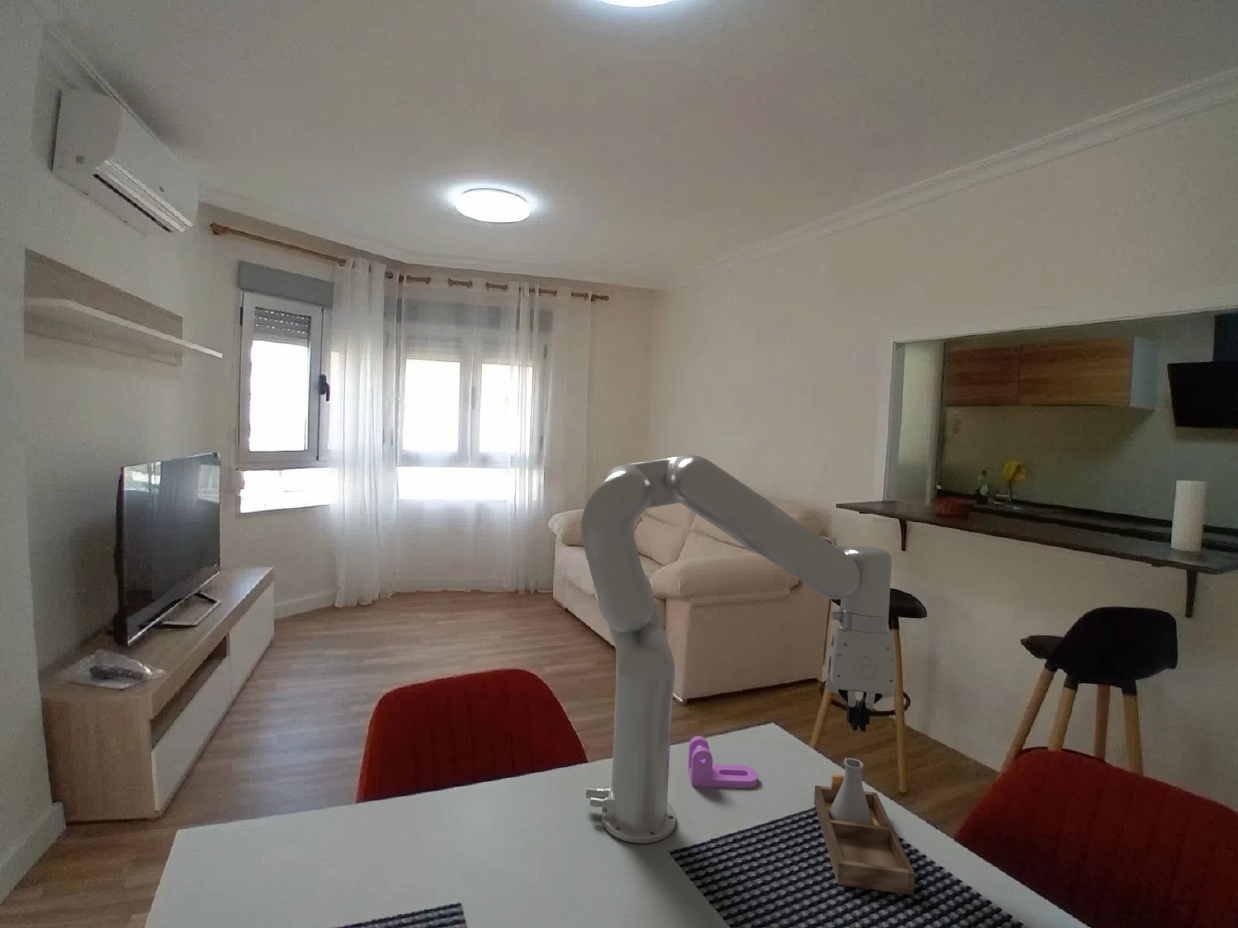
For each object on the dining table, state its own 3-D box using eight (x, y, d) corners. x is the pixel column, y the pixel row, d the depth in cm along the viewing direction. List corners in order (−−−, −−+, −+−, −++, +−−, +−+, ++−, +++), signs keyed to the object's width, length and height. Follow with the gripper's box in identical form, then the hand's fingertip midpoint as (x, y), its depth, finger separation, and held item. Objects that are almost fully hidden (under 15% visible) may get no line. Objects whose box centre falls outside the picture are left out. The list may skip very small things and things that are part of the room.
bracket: (691, 786, 113) (693, 750, 113) (687, 770, 119) (689, 735, 118) (760, 788, 113) (762, 752, 113) (753, 772, 119) (755, 737, 119)
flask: (877, 836, 99) (881, 777, 99) (831, 829, 101) (834, 770, 100) (868, 810, 106) (871, 754, 106) (825, 803, 108) (828, 748, 107)
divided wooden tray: (837, 884, 89) (839, 847, 89) (814, 802, 109) (815, 772, 109) (913, 894, 88) (916, 857, 87) (875, 810, 108) (877, 779, 108)
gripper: (820, 623, 99) (814, 732, 100) (919, 631, 97) (911, 743, 98) (813, 610, 107) (807, 712, 107) (904, 618, 104) (897, 722, 105)
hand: (857, 727), depth 103 cm, fingers closed
